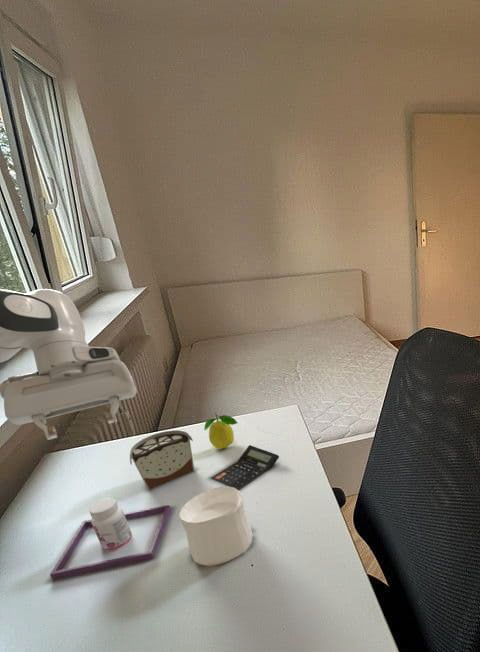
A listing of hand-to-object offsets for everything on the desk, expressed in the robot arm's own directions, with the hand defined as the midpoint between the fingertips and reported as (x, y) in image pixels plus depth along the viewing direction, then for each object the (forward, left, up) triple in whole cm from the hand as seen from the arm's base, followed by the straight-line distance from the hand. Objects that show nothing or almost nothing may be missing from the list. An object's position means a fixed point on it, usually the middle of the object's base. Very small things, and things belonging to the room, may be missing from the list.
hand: (83, 429), depth 82 cm
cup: (+23, -19, -19) cm, 35 cm away
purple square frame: (+4, -12, -18) cm, 22 cm away
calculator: (+25, +4, -19) cm, 32 cm away
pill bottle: (+4, -12, -18) cm, 22 cm away
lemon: (+19, +17, -19) cm, 32 cm away
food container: (+8, +8, -19) cm, 22 cm away
